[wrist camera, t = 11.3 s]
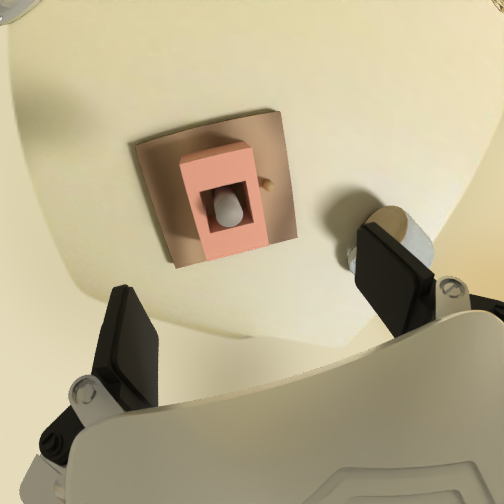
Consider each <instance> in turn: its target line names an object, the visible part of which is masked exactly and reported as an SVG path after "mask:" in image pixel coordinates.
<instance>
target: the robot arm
mask: <svg viewBox="0 0 504 504" xmlns="http://www.w3.org/2000/svg"><path fill="white" fill-rule="evenodd" d="M40 1H41V0H0V26H1V25H5V24H8V23H11V22H13V21H15V20H17V19H19V18H20V17H22V16H23V15H25V14H26V13H27V12H29V11H30V10H31V9H32V8H33V7H35V6H36V5H37V4H38V3H39V2H40ZM434 275H435V274H434V273H433V272H432V271H430V270H429V269H428V268H427V267H426V266H425V265H424V264H423V263H422V262H421V261H420V260H419V259H418V258H416V257H415V256H414V255H413V254H412V253H411V252H410V251H409V250H407V249H406V248H405V247H404V246H403V245H402V244H401V243H399V242H398V241H397V240H396V239H395V238H394V237H392V236H391V235H390V234H389V233H388V232H387V231H385V230H384V229H383V228H382V227H381V226H379V225H378V224H377V223H376V222H370V223H366V224H362V225H361V227H360V229H358V231H357V251H356V267H355V284H356V286H357V288H358V289H359V290H360V292H361V293H362V294H363V296H364V297H365V298H366V300H367V301H368V302H369V304H370V305H371V306H372V308H373V309H374V310H375V312H376V313H377V314H378V316H379V317H380V318H381V320H382V321H383V323H384V324H385V325H386V327H387V328H388V329H389V331H390V332H391V334H392V335H393V336H394V339H392V340H390V341H388V342H386V343H383V344H381V345H378V346H376V347H373V348H371V349H369V350H366V351H364V352H361V353H359V354H356V355H353V356H351V357H348V358H345V359H343V360H340V361H338V362H335V363H332V364H329V365H326V366H324V367H320V368H317V369H314V370H311V371H308V372H305V373H302V374H299V375H296V376H292V377H289V378H286V379H282V380H279V381H275V382H272V383H268V384H264V385H261V386H257V387H253V388H249V389H245V390H242V391H237V392H233V393H228V394H224V395H219V396H214V397H210V398H205V399H200V400H194V401H189V402H183V403H177V404H171V405H166V406H160V407H158V347H159V338H158V334H157V332H156V330H155V328H154V326H153V325H152V323H151V321H150V319H149V317H148V316H147V314H146V312H145V310H144V308H143V306H142V304H141V302H140V301H139V299H138V297H137V295H136V293H135V291H134V289H133V288H132V287H128V285H126V284H125V285H121V286H117V287H114V288H113V289H112V292H111V295H110V299H109V302H108V306H107V310H106V314H105V318H104V322H103V324H102V326H101V330H100V334H99V339H98V343H97V348H96V352H95V357H94V362H93V367H92V372H91V375H84V376H81V377H79V378H78V379H77V380H75V381H74V383H73V384H72V385H71V387H70V390H69V394H68V396H69V397H68V398H69V401H70V404H71V405H70V406H69V407H68V408H67V409H66V410H65V411H64V412H63V413H62V414H61V415H60V416H59V417H58V418H57V419H56V420H55V421H54V422H53V423H52V424H51V425H50V426H49V427H48V428H46V430H45V431H44V432H43V433H42V435H41V437H40V441H39V448H40V452H41V454H40V456H39V455H38V454H37V455H36V457H35V458H34V460H33V462H32V464H31V466H30V468H29V469H28V471H27V473H26V475H25V477H24V479H23V481H22V483H21V486H20V497H21V500H22V501H23V503H24V504H504V302H501V301H498V300H494V299H490V298H485V297H481V296H477V295H472V294H469V291H468V287H467V286H466V284H465V283H464V282H463V281H462V280H460V279H458V278H456V277H453V276H443V277H441V278H439V279H438V280H437V281H436V280H435V279H434Z"/></svg>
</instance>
